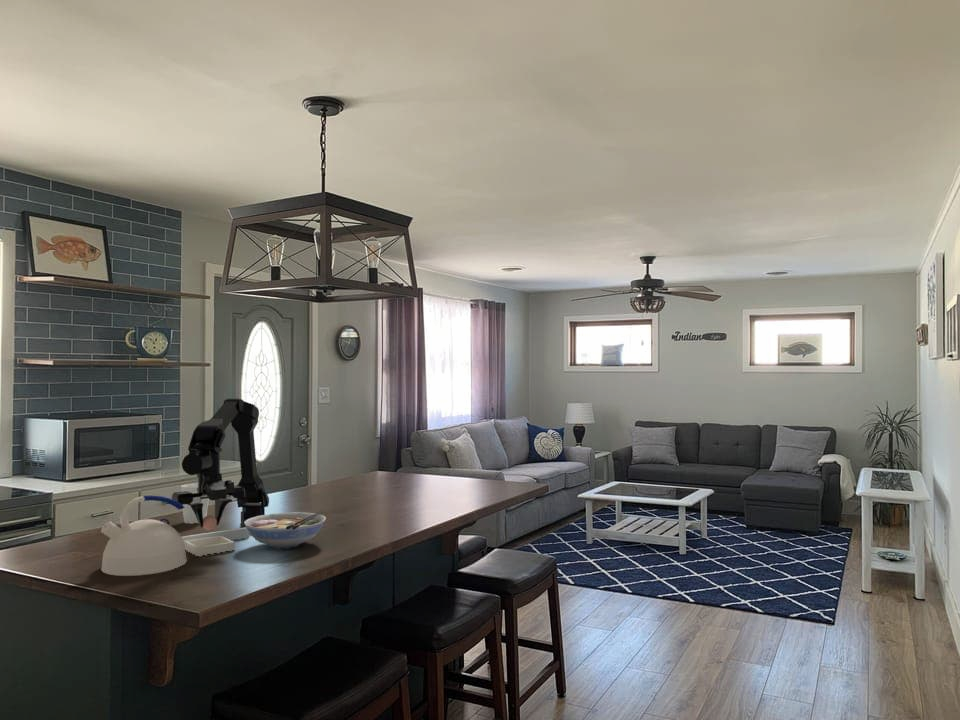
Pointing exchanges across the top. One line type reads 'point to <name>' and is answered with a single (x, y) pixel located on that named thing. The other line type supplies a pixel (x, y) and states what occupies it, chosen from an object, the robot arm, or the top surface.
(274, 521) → the ramen bowl
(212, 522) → the ball
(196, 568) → the top surface
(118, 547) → the kettle
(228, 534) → the wall
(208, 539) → the dish
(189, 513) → the cup
